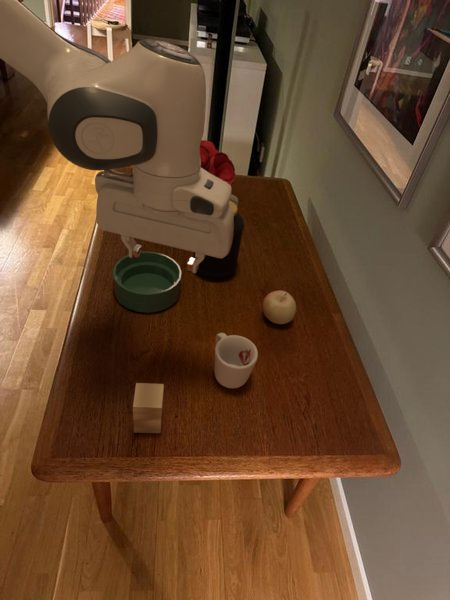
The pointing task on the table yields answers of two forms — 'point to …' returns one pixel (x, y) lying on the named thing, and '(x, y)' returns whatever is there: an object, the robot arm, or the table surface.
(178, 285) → the green pet bowl
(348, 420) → the table surface
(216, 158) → the bouquet
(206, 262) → the container
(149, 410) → the plain beige block
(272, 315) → the fruit
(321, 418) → the table surface
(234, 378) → the cup
